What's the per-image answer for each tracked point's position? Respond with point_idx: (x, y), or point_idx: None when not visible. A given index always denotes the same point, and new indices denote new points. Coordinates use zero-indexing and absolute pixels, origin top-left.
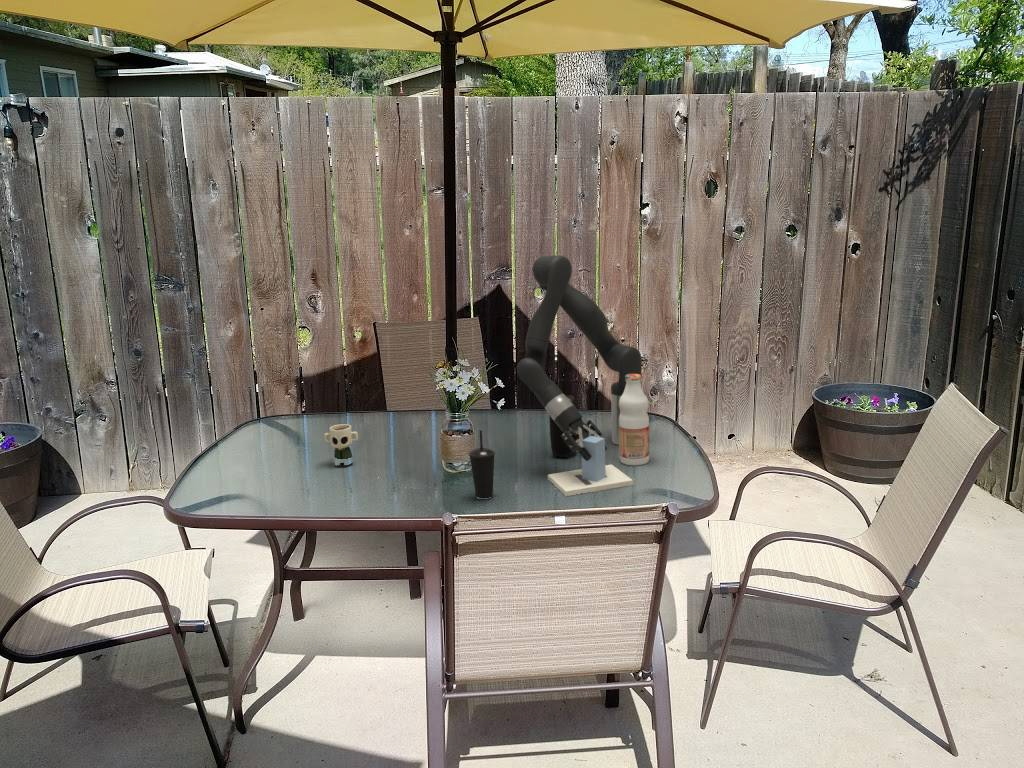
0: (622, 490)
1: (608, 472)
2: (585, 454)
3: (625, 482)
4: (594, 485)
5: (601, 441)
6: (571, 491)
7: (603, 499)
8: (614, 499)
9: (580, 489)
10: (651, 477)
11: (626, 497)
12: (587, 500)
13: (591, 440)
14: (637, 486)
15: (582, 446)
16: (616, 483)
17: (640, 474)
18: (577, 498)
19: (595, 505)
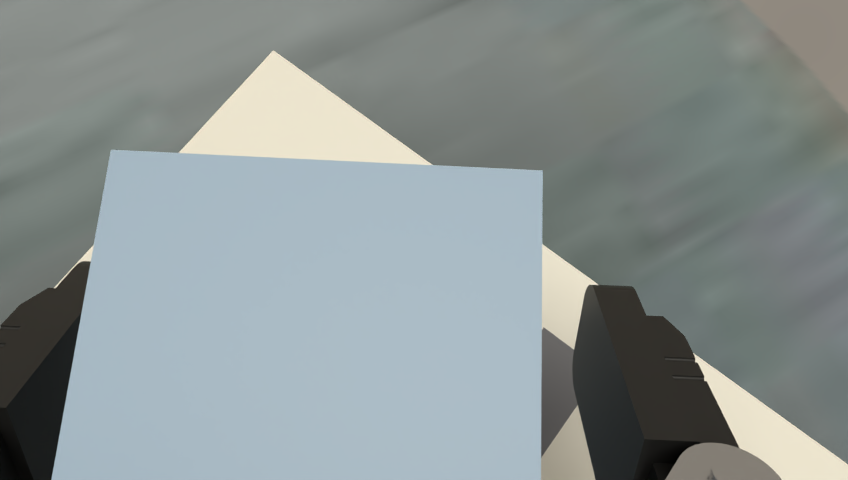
0: (432, 94)
1: None
2: (690, 360)
3: (330, 96)
4: (562, 290)
5: (279, 169)
6: (794, 429)
7: (685, 137)
8: (636, 64)
9: (711, 368)
10: (53, 20)
11: (550, 6)
12: (781, 241)
13: (415, 364)
14: (294, 31)
15: (718, 458)
16: (401, 144)
17: (12, 125)
18: (796, 341)
19: (828, 134)
